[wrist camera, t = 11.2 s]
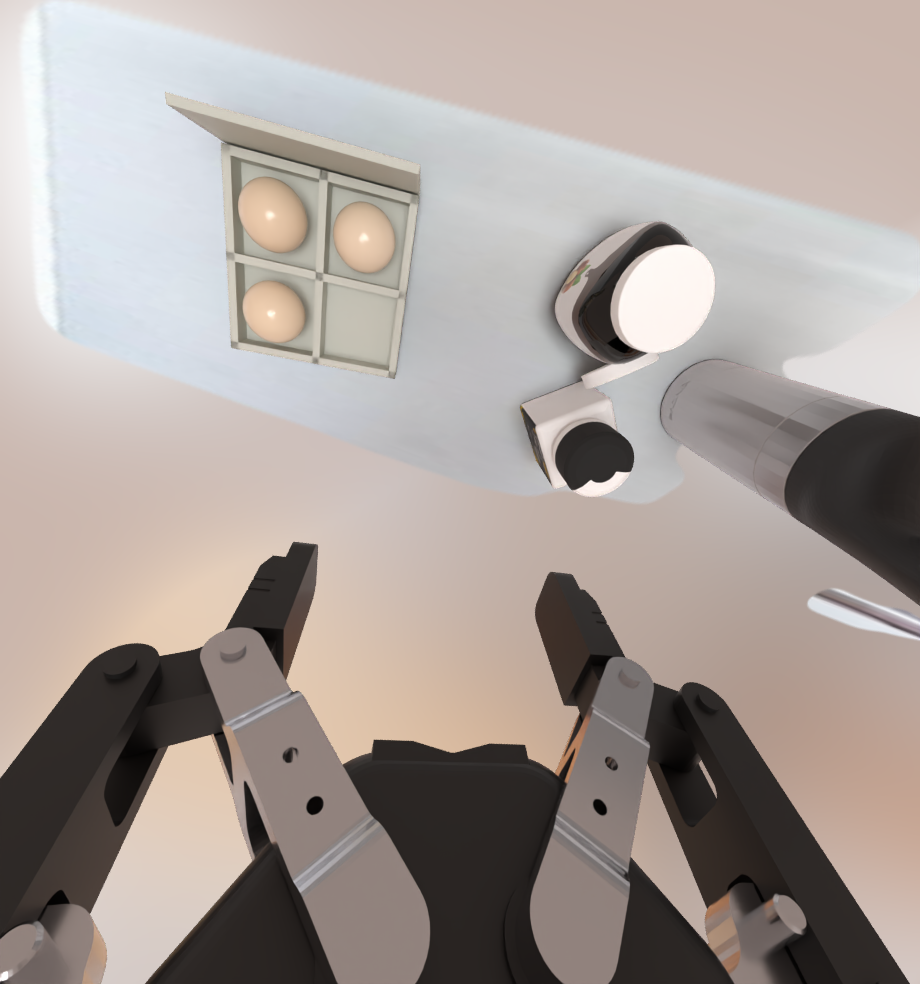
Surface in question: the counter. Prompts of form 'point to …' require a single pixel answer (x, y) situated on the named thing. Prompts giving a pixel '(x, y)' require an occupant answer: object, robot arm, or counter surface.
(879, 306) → the counter surface
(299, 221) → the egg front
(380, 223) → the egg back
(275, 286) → the egg
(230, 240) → the egg tray
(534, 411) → the medicine bottle
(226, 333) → the counter surface
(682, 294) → the spread jar
